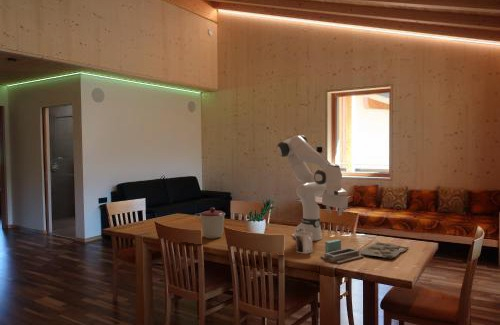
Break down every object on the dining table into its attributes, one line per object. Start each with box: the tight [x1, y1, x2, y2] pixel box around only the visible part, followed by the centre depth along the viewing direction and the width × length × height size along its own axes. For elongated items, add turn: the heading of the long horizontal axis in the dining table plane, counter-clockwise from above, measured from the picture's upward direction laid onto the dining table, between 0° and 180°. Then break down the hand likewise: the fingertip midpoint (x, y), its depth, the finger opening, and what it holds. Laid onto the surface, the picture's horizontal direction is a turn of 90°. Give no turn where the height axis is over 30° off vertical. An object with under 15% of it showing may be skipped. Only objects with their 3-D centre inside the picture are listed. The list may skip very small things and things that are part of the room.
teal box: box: [324, 238, 342, 253], centre depth 235 cm, size 3×10×7 cm, turn 123°
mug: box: [295, 232, 314, 254], centre depth 237 cm, size 10×12×11 cm
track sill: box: [320, 247, 365, 265], centre depth 224 cm, size 14×20×4 cm
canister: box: [199, 207, 226, 240], centre depth 277 cm, size 18×18×21 cm
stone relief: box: [359, 241, 410, 260], centre depth 234 cm, size 32×3×20 cm
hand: (334, 214), depth 235 cm, fingers open, 8 cm apart
